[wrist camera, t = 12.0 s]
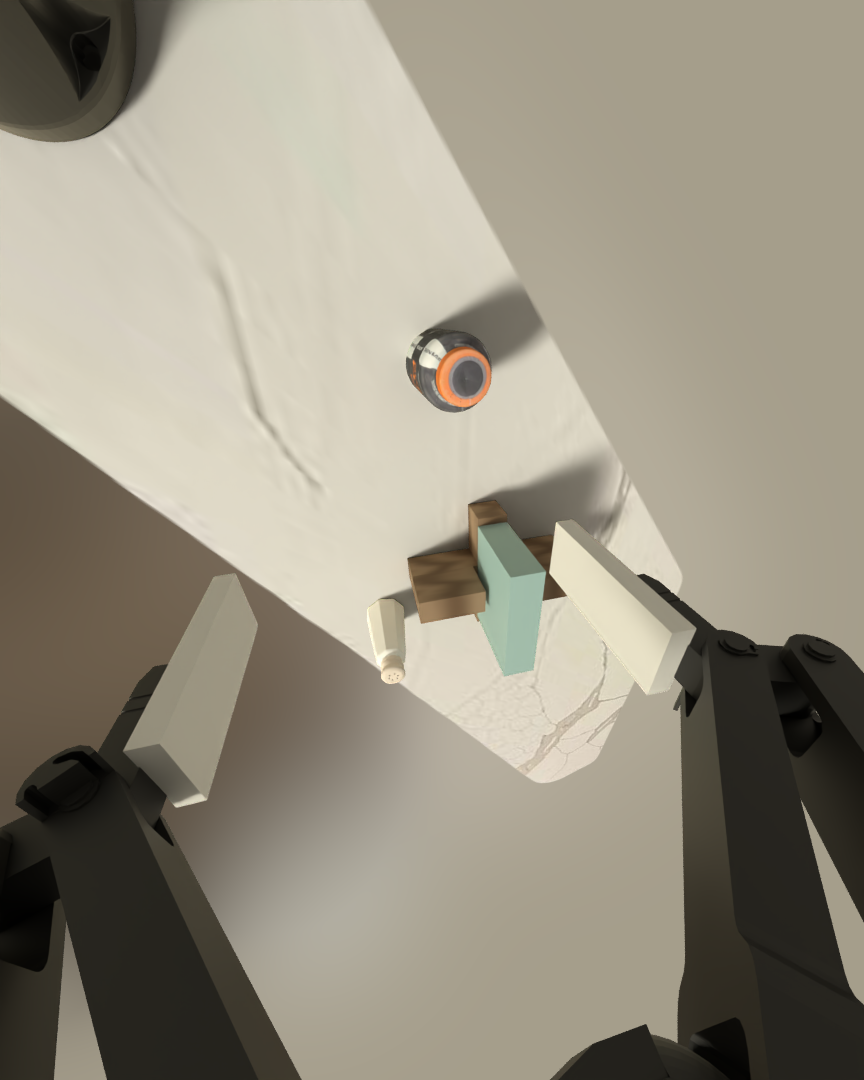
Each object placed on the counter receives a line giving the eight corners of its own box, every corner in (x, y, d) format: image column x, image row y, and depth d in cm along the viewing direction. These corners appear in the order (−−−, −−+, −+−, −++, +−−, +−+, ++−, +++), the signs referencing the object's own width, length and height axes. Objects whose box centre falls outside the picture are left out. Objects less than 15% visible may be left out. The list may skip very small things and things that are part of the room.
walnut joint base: (413, 612, 52) (425, 662, 44) (402, 514, 44) (413, 554, 36) (544, 588, 55) (575, 631, 47) (557, 491, 46) (597, 524, 39)
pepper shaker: (374, 631, 52) (379, 698, 43) (359, 605, 49) (362, 671, 40) (409, 618, 52) (422, 682, 43) (397, 592, 50) (408, 654, 40)
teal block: (477, 526, 42) (510, 577, 33) (506, 521, 42) (546, 571, 34) (477, 615, 49) (504, 676, 41) (502, 611, 50) (533, 669, 41)
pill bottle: (392, 357, 35) (409, 371, 25) (440, 313, 34) (477, 310, 24) (429, 407, 38) (457, 436, 28) (475, 368, 37) (519, 385, 27)
